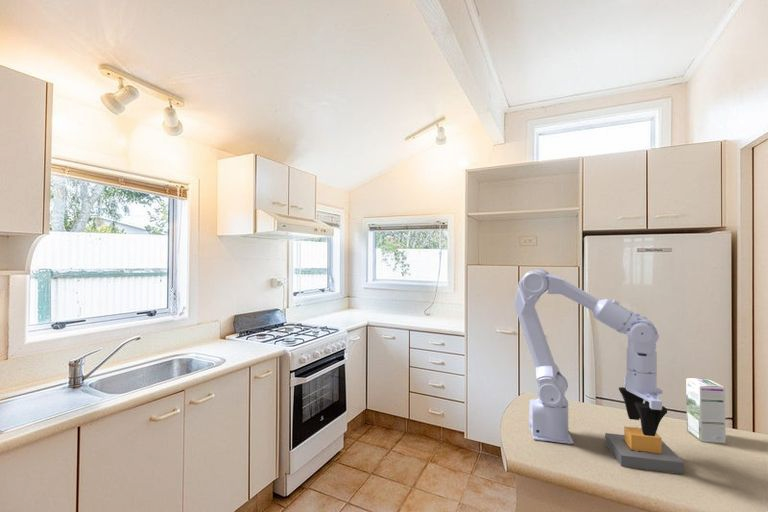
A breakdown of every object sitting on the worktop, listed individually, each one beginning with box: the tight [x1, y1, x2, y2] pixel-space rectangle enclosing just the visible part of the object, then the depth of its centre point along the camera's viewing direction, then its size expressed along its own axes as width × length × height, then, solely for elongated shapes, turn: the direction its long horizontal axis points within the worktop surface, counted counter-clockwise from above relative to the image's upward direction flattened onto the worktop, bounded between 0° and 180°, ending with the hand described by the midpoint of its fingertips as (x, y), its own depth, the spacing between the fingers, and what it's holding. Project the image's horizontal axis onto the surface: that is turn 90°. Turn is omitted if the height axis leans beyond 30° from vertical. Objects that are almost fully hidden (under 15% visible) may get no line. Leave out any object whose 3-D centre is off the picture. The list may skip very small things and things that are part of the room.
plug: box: [623, 426, 662, 453], centre depth 82 cm, size 6×4×6 cm, turn 75°
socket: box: [604, 432, 685, 475], centre depth 82 cm, size 12×10×3 cm
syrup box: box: [685, 377, 727, 444], centre depth 91 cm, size 6×6×14 cm
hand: (641, 426), depth 82 cm, fingers open, 7 cm apart
